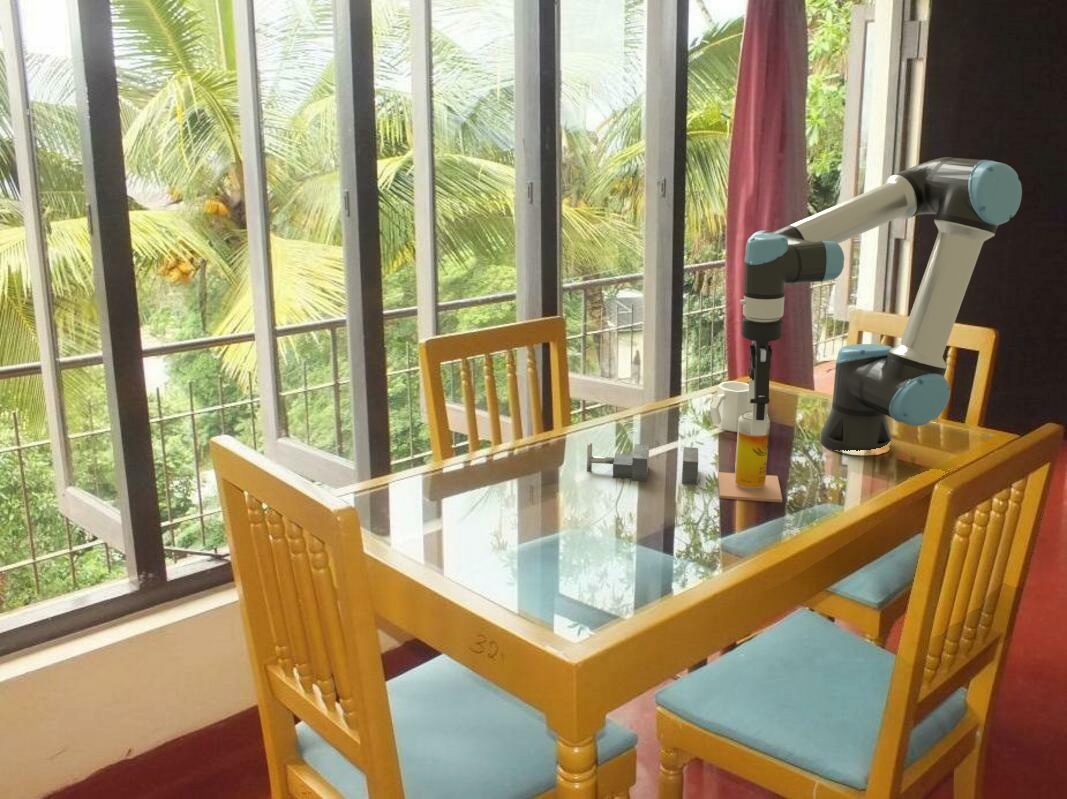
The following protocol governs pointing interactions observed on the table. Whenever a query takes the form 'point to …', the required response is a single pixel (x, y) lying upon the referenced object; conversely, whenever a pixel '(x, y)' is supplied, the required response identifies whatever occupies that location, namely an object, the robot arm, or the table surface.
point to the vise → (644, 464)
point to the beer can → (750, 454)
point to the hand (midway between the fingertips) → (756, 422)
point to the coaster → (732, 491)
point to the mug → (729, 404)
